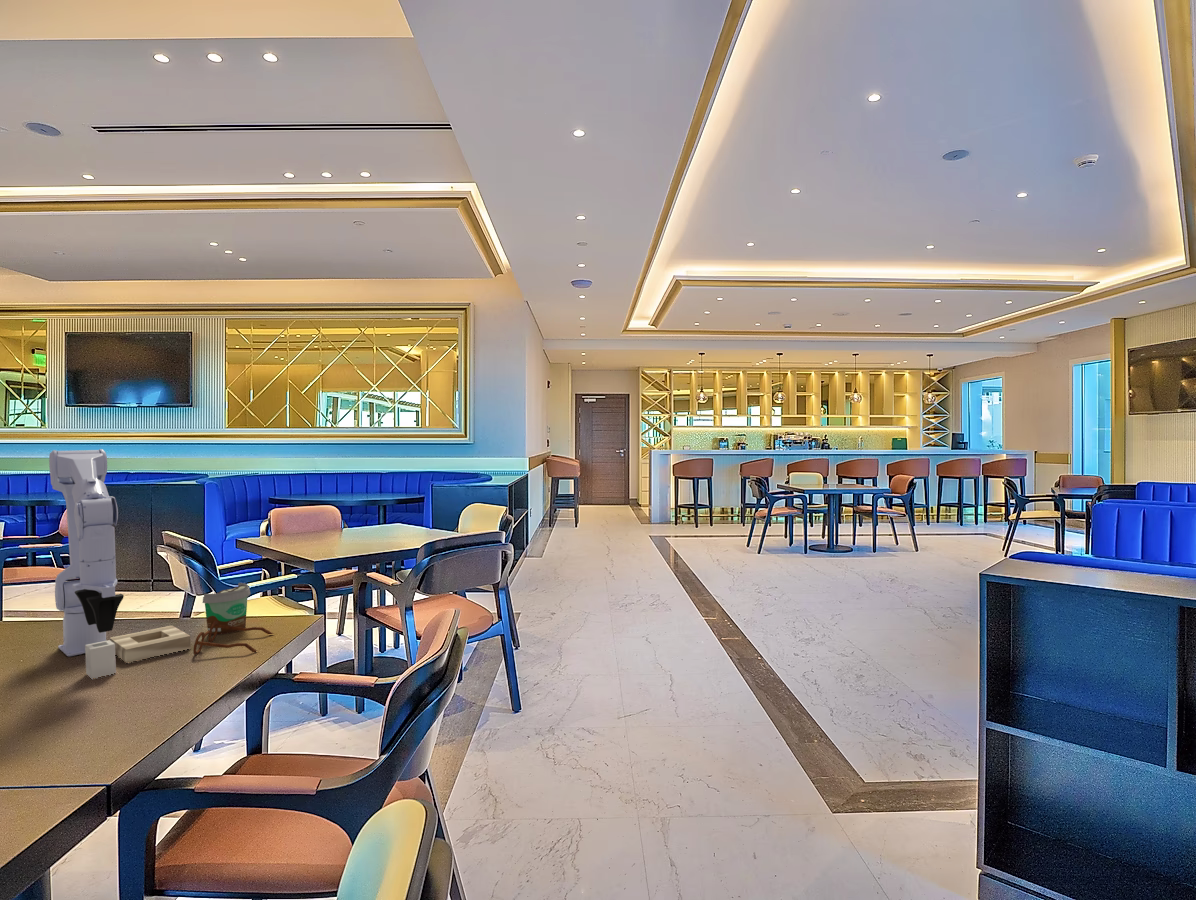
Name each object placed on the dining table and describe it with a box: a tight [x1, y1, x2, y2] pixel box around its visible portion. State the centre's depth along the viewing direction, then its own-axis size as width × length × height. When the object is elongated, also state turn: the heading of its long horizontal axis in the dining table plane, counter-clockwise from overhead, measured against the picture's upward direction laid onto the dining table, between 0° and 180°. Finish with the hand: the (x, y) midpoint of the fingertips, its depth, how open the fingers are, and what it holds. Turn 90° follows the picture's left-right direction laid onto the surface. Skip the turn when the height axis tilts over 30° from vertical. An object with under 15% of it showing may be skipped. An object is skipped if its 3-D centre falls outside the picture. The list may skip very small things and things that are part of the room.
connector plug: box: [84, 639, 117, 680], centre depth 134 cm, size 4×4×6 cm
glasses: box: [193, 621, 274, 656], centre depth 152 cm, size 13×13×5 cm
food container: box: [202, 582, 252, 636], centre depth 163 cm, size 12×6×10 cm, turn 168°
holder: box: [109, 625, 192, 664], centre depth 149 cm, size 12×12×3 cm
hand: (99, 627), depth 134 cm, fingers open, 7 cm apart
